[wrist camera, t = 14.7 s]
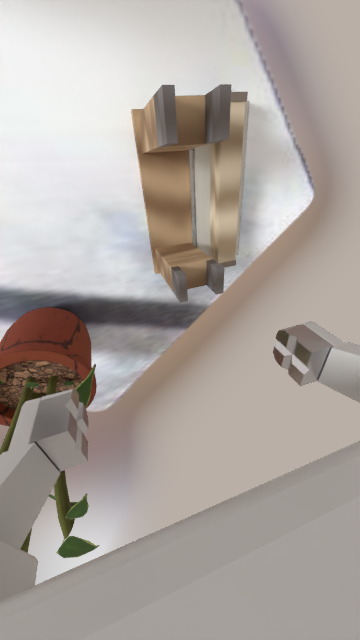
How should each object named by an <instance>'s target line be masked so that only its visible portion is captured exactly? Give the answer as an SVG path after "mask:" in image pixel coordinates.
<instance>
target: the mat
mask: <svg viewBox="0 0 360 640" xmlns="http://www.w3.org/2000/svg"><path fill="white" fill-rule="evenodd" d="M248 113H249V101H246V102H245V115H244V130H243V145H242V160H241V175H240V191H239V206H238V221H237V236H236V252H235V255H238V249H239V236H240V222H241V209H242V195H243V181H244V168H245V154H246V140H247V127H248ZM194 178H195V210H196V241H197V248H198V249H200V250H201V251H202V252H204V253H205V254H207V255H208V256H209V257H210V144H209V145H205V146H201V147H197V148H194Z"/></svg>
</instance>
